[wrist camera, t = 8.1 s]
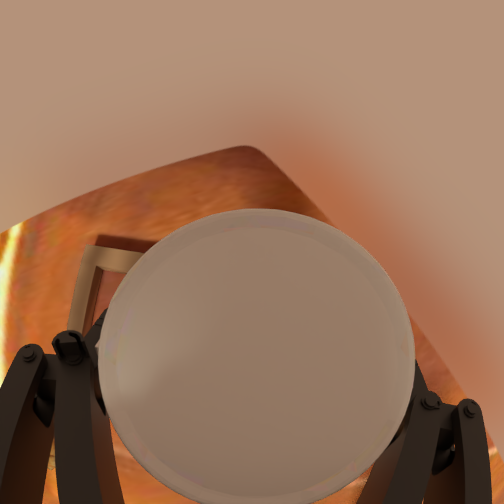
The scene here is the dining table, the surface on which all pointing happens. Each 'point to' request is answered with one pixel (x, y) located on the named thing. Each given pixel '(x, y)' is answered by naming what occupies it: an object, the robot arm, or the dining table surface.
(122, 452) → the dining table surface
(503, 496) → the dining table surface
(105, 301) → the dining table surface
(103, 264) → the square frame
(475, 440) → the robot arm
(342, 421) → the coffee cup
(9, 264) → the dining table surface
